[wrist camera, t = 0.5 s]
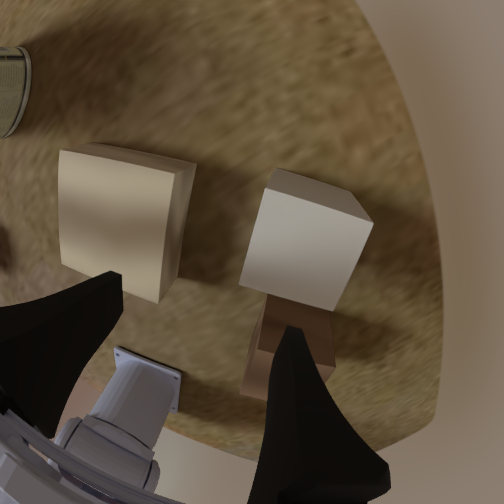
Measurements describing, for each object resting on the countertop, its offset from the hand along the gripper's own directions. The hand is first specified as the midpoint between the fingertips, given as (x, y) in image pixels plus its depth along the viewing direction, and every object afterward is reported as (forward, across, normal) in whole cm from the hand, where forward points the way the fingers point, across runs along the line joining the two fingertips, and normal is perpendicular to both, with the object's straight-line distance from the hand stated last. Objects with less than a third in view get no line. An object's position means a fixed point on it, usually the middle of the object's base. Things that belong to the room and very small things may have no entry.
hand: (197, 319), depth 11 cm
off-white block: (+9, -4, -3) cm, 10 cm away
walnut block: (+9, -6, +6) cm, 13 cm away
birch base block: (+9, +8, 0) cm, 13 cm away
